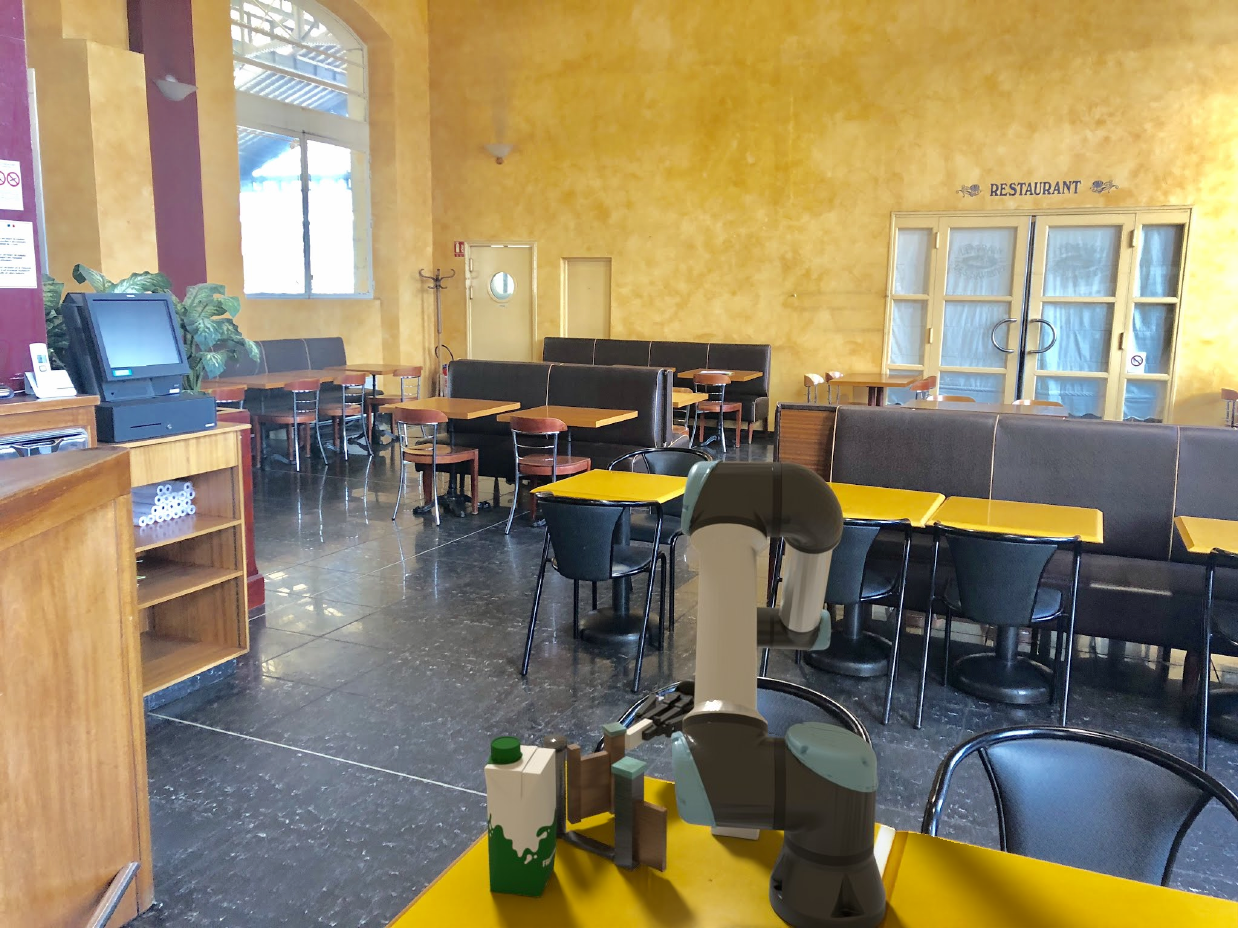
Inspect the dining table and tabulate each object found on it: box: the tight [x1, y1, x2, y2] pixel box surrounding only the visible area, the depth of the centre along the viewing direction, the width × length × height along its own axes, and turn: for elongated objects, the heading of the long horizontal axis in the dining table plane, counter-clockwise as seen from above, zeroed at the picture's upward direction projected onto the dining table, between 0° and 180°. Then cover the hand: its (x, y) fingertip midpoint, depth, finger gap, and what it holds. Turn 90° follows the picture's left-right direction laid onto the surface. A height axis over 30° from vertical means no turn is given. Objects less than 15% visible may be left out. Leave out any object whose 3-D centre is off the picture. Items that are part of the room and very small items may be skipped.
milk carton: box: [483, 735, 557, 898], centre depth 129 cm, size 9×9×20 cm
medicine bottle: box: [710, 827, 761, 841], centre depth 143 cm, size 7×7×12 cm
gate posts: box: [542, 733, 668, 873], centre depth 136 cm, size 21×4×15 cm, turn 54°
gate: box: [566, 721, 628, 825], centre depth 144 cm, size 9×3×14 cm, turn 119°
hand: (626, 741), depth 151 cm, fingers closed
